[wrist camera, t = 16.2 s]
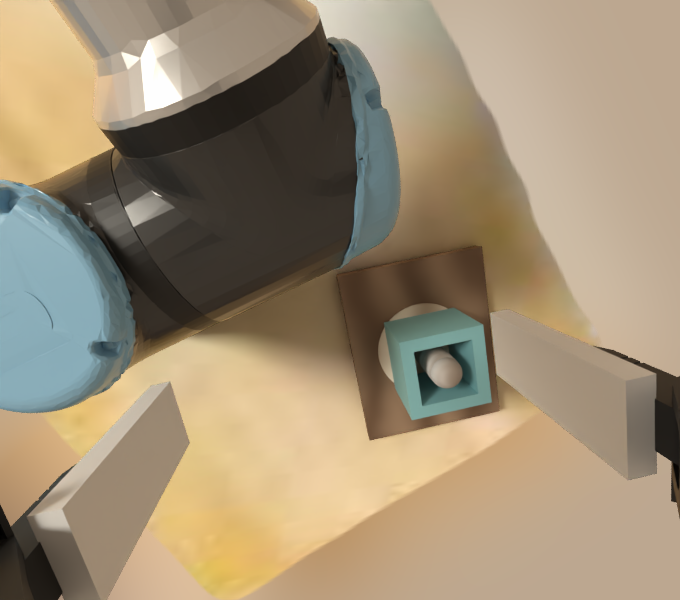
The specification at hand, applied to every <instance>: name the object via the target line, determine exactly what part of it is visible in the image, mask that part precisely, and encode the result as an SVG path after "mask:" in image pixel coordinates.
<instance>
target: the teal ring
mask: <svg viewBox="0 0 680 600" xmlns="http://www.w3.org/2000/svg"><path fill="white" fill-rule="evenodd" d="M384 327H385V333H386V339H387V345H388V350H389V356H390V362H391V368H392V373H393V379H394V385H395V389H396V391H397V393H398V395H399V397H400V399H401V400H402V402H403V404H404V406H405V408H406V410H407V412H408V414H409V416H410V417H411V419H412V420H416V419H420V418H424V417H429V416H433V415H438V414H442V413H447V412H451V411H455V410H460V409H464V408H469V407H473V406H478V405H482V404H486V403H491V402H492V399H491V390H490V381H489V373H488V364H487V355H486V346H485V337H484V328H483V324H481V323H479V322H478V321H476V320H474V319H473V318H471V317H469V316H467V315H466V314H464V313H462V312H461V311H459V310H457V309H456V308H449V309H445V310H440V311H435V312H431V313H426V314H421V315H417V316H412V317H407V318H403V319H398V320H393V321H388V322H384ZM445 345H448V347H449V354H450V355H451V356H452V357H453V358H454V359H455V360H456V361H457V362H458V363H459V364H460V366H461V368H462V379H461V381H460V382H459V384H457V385H456V386H455V387H453V388H441V387H439V386H437V385H436V384H435V383H434V382H433V381H432V380H431V378H430V377H429V376H428V374H427V373H426V372H422V373H418V374H417V370H416V363H415V357H414V352H417V351H422V350H426V349H431V348H436V347H440V346H445Z"/></svg>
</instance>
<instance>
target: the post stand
mask: <svg viewBox="0 0 680 600" xmlns="http://www.w3.org/2000/svg"><path fill="white" fill-rule="evenodd" d="M337 280H338V285H339V290H340V295H341V300H342V305H343V310H344V315H345V320H346V326H347V331H348V336H349V341H350V346H351V351H352V356H353V361H354V366H355V371H356V376H357V381H358V386H359V391H360V396H361V401H362V406H363V411H364V416H365V421H366V427H367V432H368V436H369V439H370V440H374V439H378V438H383V437H387V436H392V435H396V434H400V433H405V432H409V431H414V430H418V429H422V428H427V427H431V426H436V425H440V424H444V423H449V422H453V421H458V420H462V419H466V418H471V417H475V416H480V415H484V414H488V413H493V412H497V411H499V402H498V393H497V384H496V374H495V365H494V356H493V347H492V337H491V328H490V319H489V309H488V300H487V291H486V281H485V272H484V263H483V254H482V247H480V246H472V247H468V248H463V249H458V250H453V251H448V252H443V253H438V254H434V255H429V256H424V257H419V258H414V259H409V260H405V261H400V262H395V263H390V264H385V265H380V266H375V267H371V268H366V269H361V270H356V271H351V272H346V273H341V274H337ZM449 308H456V309H457V310H459V311H461V312H462V313H464V314H466V315H467V316H469V317H471V318H473V319H474V320H476V321H478V322H479V323H481V324H483V328H484V337H485V346H486V355H487V364H488V373H489V381H490V390H491V399H492V402H491V403H486V404H482V405H478V406H473V407H469V408H464V409H460V410H455V411H451V412H447V413H442V414H438V415H433V416H429V417H424V418H420V419H416V420H412V419H411V417H410V416H409V414H408V412H407V410H406V408H405V406H404V404H403V402H402V400H401V399H400V397H399V395H398V393H397V391H396V389H395V385H394V379H393V373H392V368H391V362H390V356H389V350H388V345H387V339H386V333H385V327H384V322H388V321H393V320H398V319H403V318H407V317H412V316H417V315H421V314H426V313H431V312H435V311H440V310H445V309H449ZM414 357H415V363H416V370H417V374H418V373H422V372H426V373H427V374H428V376H429V377H430V378H431V380H432V381H433V382H434V383H435V384H436V385H437V386H439V387H441V388H453V387H455V386H456V385H457V384H459V382H460V381H461V379H462V368H461V366H460V364H459V363H458V362H457V361H456V360H455V359H454V358H453V357H452V356H451V355H450V354H449V347H448V345H445V346H440V347H436V348H431V349H426V350H422V351H417V352H414Z"/></svg>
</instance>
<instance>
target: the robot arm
mask: <svg viewBox="0 0 680 600" xmlns="http://www.w3.org/2000/svg"><path fill="white" fill-rule="evenodd" d="M50 2H51V3H52V4H53V6H54V7H55V9H56V10H57V11H58V13H59V14H60V16H61V17H62V18H63V20H64V21H65V23H66V24H67V25H68V27H69V28H70V30H71V31H72V32H73V34H74V35H75V36H76V38H77V39H78V41H79V42H80V43H81V45H82V46H83V48H84V49H85V50H86V52H87V53H88V55H89V56H90V57H91V59H92V62H93V66H94V71H95V87H94V103H93V119H94V120H95V122H96V123H97V125H98V127H99V128H100V129H101V130H102V132H103V133H104V134H105V135H106V137H107V138H108V139H109V140H110V142H111V143H112V144H113V145H114V148H112V149H110V150H108V151H106V152H104V153H102V154H100V155H98V156H96V157H93V158H91V159H89V160H87V161H85V162H83V163H81V164H79V165H77V166H75V167H73V168H71V169H68V170H66V171H64V172H62V173H60V174H58V175H56V176H54V177H52V178H50V179H48V180H45V181H43V182H40V183H37V184H33V185H29V186H27V185H24V184H22V183H17V182H13V181H7V180H0V409H4V410H7V411H13V412H21V413H44V412H52V411H57V410H62V409H65V408H68V407H71V406H74V405H77V404H79V403H81V402H83V401H85V400H86V399H88V398H90V397H92V396H95V395H97V394H100V393H102V392H104V391H106V390H108V389H109V388H110V387H111V386H112V385H113V384H114V382H116V381H118V380H119V379H120V378H121V374H123V373H124V372H125V371H126V370H127V369H128V368H130V367H132V366H133V365H135V364H136V363H138V362H140V361H142V360H143V359H145V358H147V357H149V356H151V355H153V354H155V353H157V352H159V351H161V350H163V349H165V348H167V347H169V346H171V345H174V344H176V343H178V342H180V341H182V340H184V339H186V338H188V337H190V336H192V335H194V334H196V333H198V332H200V331H202V330H204V329H206V328H208V327H210V326H212V325H214V324H217V323H219V322H221V321H225V320H227V319H229V318H231V317H233V316H236V315H238V314H240V313H242V312H244V311H246V310H248V309H250V308H252V307H255V306H257V305H259V304H261V303H263V302H265V301H267V300H269V299H271V298H274V297H276V296H278V295H280V294H282V293H284V292H286V291H288V290H290V289H293V288H295V287H297V286H299V285H301V284H303V283H305V282H307V281H309V280H312V279H314V278H316V277H318V276H320V275H322V274H324V273H326V272H328V271H331V270H338V269H340V268H343V266H344V265H347V264H348V263H349V261H350V260H351V259H353V258H354V257H356V256H358V255H360V254H362V253H364V252H366V251H367V250H369V249H371V248H373V247H375V246H377V245H379V244H380V243H381V242H382V241H383V240H384V239H385V238H386V237H387V236H388V235H389V233H390V232H391V231H392V229H393V227H394V225H395V223H396V220H397V216H398V212H399V206H400V192H401V189H400V170H399V161H398V154H397V148H396V142H395V137H394V132H393V128H392V124H391V120H390V116H389V114H388V111H387V110H386V109H384V108H383V107H382V105H381V97H380V86H379V84H378V82H377V79H376V77H375V74H374V72H373V70H372V68H371V66H370V64H369V62H368V60H367V59H366V57H365V55H364V54H363V53H362V51H361V50H360V49H359V48H358V47H357V46H356V45H355V44H353V43H351V42H350V41H348V40H346V39H337V38H334V37H331V38H328V39H326V36H325V33H324V29H323V26H322V23H321V19H320V16H319V13H318V10H317V7H316V6H315V5H314V4H312V3H310V2H309V1H307V0H50ZM490 317H491V326H492V336H493V345H494V354H495V364H496V373H497V375H498V376H499V377H501V378H502V379H503V380H504V381H505V382H507V383H508V384H509V385H510V386H512V387H513V388H514V389H515V390H517V391H518V392H519V393H520V394H522V395H523V396H524V397H525V398H527V399H528V400H529V401H530V402H532V403H533V404H534V405H535V406H536V407H538V408H539V409H540V410H541V411H543V412H544V413H545V414H546V415H548V416H549V417H550V418H551V419H553V420H554V421H555V422H556V423H558V424H559V425H560V426H561V427H562V428H564V429H565V430H566V431H567V432H569V433H570V434H571V435H572V436H574V437H575V438H576V439H578V440H579V441H580V442H581V443H582V444H584V445H585V446H586V447H587V448H589V449H590V450H591V451H592V452H593V453H595V454H596V455H597V456H598V457H600V458H601V459H602V460H604V461H605V462H606V463H607V464H608V465H610V466H611V467H612V468H613V469H615V470H616V471H617V472H618V473H620V474H621V475H622V476H623V477H625V478H626V479H627V480H632V479H636V478H640V477H644V476H648V475H652V474H656V473H657V452H658V453H660V454H661V455H663V456H664V457H666V458H667V459H669V460H670V461H672V475H671V477H672V478H671V479H672V480H671V482H672V483H671V501H673V502H677V507H678V512H679V517H680V376H679V377H676V376H673V375H671V374H669V373H666V372H664V371H661V370H659V369H657V368H654V367H652V366H650V365H647V364H645V363H640V361H638V360H635V359H633V358H628V356H626V355H623V354H621V353H619V352H616V351H614V350H610V349H605V348H601V347H596V346H591V345H589V344H587V343H585V342H582V341H580V340H578V339H575V338H573V337H571V336H569V335H566V334H564V333H562V332H559V331H557V330H555V329H552V328H550V327H548V326H546V325H543V324H541V323H539V322H536V321H534V320H532V319H530V318H527V317H525V316H523V315H520V314H518V313H516V312H514V311H511V310H509V309H506V310H501V311H497V312H492V313H490ZM189 443H190V442H189V439H188V436H187V433H186V430H185V427H184V423H183V420H182V417H181V414H180V411H179V408H178V405H177V402H176V398H175V395H174V392H173V389H172V386H171V383H170V382H166V383H162V384H157V385H152V386H150V387H149V388H148V389H147V390H146V391H145V392H144V393H143V394H142V395H141V397H140V398H139V399H138V400H137V401H136V402H135V403H134V404H133V405H132V406H131V407H130V408H129V409H128V410H127V411H126V412H125V413H124V414H123V416H122V417H121V418H120V419H119V420H118V421H117V422H116V423H115V424H114V425H113V426H112V427H111V428H110V429H109V430H108V431H107V432H106V433H105V435H104V436H103V437H102V438H101V439H100V440H99V441H98V442H97V443H96V444H95V445H94V446H93V447H92V448H91V449H90V450H89V451H88V452H87V454H86V455H85V456H84V457H83V458H82V459H81V460H80V461H79V462H78V463H77V464H75V465H74V466H73V467H71V468H70V469H69V470H67V471H66V472H64V473H63V474H62V475H61V476H60V477H59V478H58V479H57V480H56V481H55V482H54V483H53V484H52V485H51V486H50V487H49V490H46V491H45V492H44V493H43V494H42V495H41V496H40V497H39V500H38V501H36V502H35V503H34V504H33V505H32V506H31V507H30V508H29V509H28V510H27V511H26V512H25V513H24V514H23V515H22V516H21V517H20V518H19V519H18V520H17V521H16V522H15V523H14V524H13V525H12V526H11V527H10V525H9V522H8V520H7V519H6V516H5V514H4V512H3V509H2V507H1V505H0V600H58V599H59V597H60V596H61V594H62V596H63V598H64V600H107V598H108V596H109V595H110V592H111V591H112V589H113V587H114V585H115V583H116V581H117V579H118V577H119V576H120V574H121V572H122V570H123V568H124V566H125V564H126V562H127V560H128V559H129V557H130V555H131V553H132V551H133V549H134V547H135V545H136V543H137V541H138V539H139V538H140V536H141V534H142V532H143V530H144V528H145V526H146V524H147V523H148V521H149V519H150V517H151V515H152V513H153V511H154V509H155V507H156V506H157V504H158V502H159V500H160V498H161V496H162V494H163V492H164V490H165V488H166V487H167V485H168V483H169V481H170V479H171V477H172V475H173V473H174V471H175V470H176V468H177V466H178V464H179V462H180V460H181V458H182V456H183V454H184V453H185V451H186V449H187V447H188V445H189Z"/></svg>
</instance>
